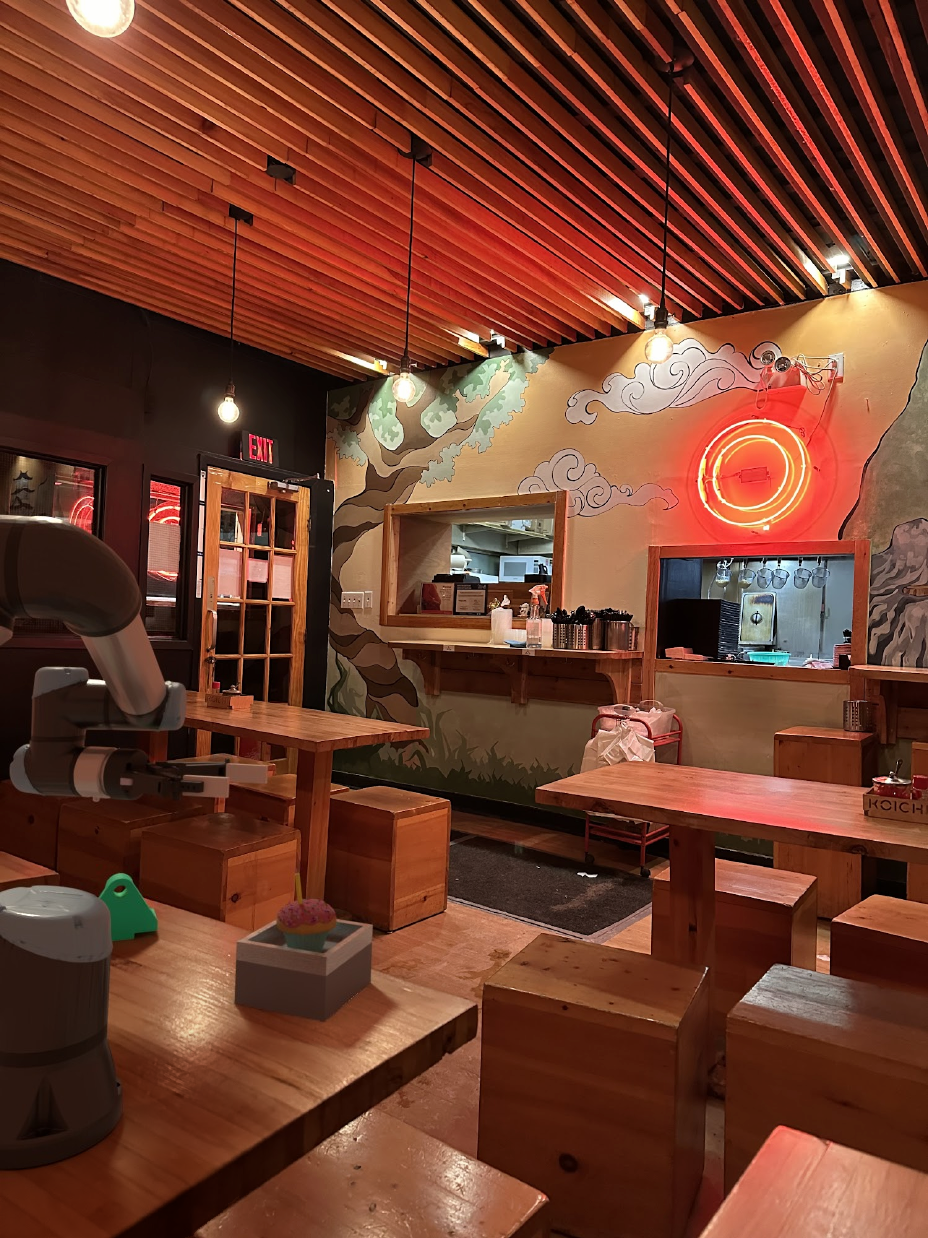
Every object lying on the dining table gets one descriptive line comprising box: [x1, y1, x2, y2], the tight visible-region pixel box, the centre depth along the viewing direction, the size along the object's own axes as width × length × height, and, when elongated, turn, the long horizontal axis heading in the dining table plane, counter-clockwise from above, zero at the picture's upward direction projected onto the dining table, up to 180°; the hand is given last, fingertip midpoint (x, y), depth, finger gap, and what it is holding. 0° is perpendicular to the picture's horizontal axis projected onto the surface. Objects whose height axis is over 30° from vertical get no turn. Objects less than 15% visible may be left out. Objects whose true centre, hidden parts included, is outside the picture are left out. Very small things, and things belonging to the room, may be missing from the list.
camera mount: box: [98, 872, 159, 942], centre depth 143 cm, size 12×8×10 cm, turn 115°
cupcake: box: [276, 868, 338, 953], centre depth 122 cm, size 9×8×12 cm
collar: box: [235, 918, 374, 976], centre depth 122 cm, size 14×14×2 cm
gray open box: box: [234, 936, 373, 1023], centre depth 121 cm, size 14×14×6 cm
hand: (248, 780), depth 124 cm, fingers open, 13 cm apart
